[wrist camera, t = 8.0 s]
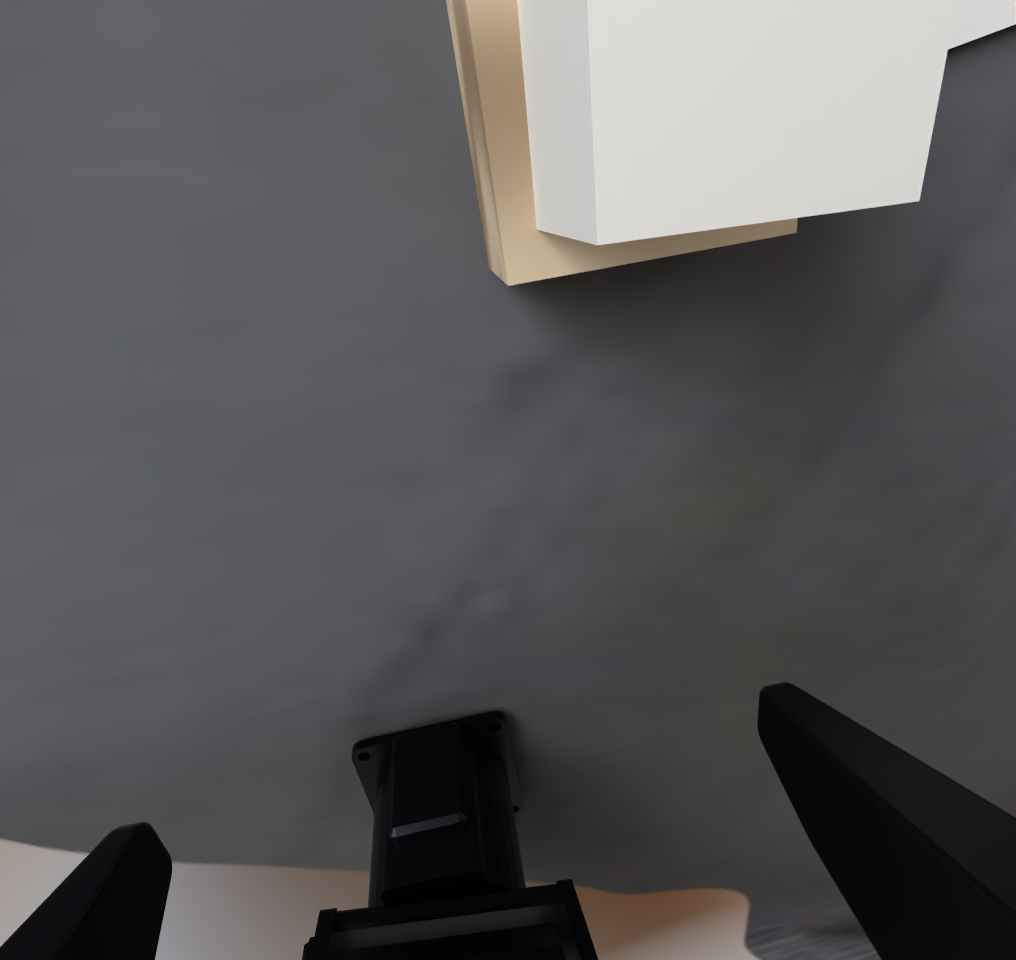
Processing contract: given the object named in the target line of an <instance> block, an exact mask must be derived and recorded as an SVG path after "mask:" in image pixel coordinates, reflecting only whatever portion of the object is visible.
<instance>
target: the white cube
mask: <svg viewBox="0 0 1016 960" xmlns="http://www.w3.org/2000/svg"><path fill="white" fill-rule="evenodd" d="M956 4H957V0H517V5H518V17H519V29H520V40H521V52H522V64H523V75H524V87H525V99H526V110H527V122H528V134H529V145H530V157H531V169H532V180H533V192H534V204H535V215H536V227H537V230H540V231H544V232H548V233H552V234H556V235H559V236H563V237H567V238H571V239H575V240H579V241H582V242H586V243H590V244H594V245H604V244H611V243H618V242H626V241H633V240H640V239H648V238H655V237H662V236H669V235H677V234H684V233H691V232H698V231H706V230H713V229H720V228H728V227H735V226H742V225H749V224H757V223H764V222H771V221H778V220H786V219H793V218H800V217H807V216H815V215H822V214H829V213H837V212H844V211H851V210H858V209H866V208H873V207H880V206H887V205H895V204H902V203H909V202H917V201H920V195H921V190H922V185H923V179H924V174H925V169H926V163H927V158H928V153H929V147H930V142H931V137H932V131H933V126H934V121H935V115H936V110H937V105H938V99H939V94H940V89H941V84H942V78H943V73H944V68H945V62H946V57H947V52H948V46H949V41H950V36H951V30H952V25H953V20H954V14H955V9H956Z"/></svg>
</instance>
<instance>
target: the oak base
mask: <svg viewBox="0 0 1016 960" xmlns="http://www.w3.org/2000/svg"><path fill="white" fill-rule="evenodd" d="M446 2H447V8H448V14H449V21H450V27H451V33H452V39H453V46H454V52H455V58H456V64H457V71H458V77H459V83H460V89H461V95H462V102H463V108H464V114H465V120H466V127H467V133H468V139H469V145H470V152H471V158H472V164H473V170H474V177H475V183H476V189H477V195H478V202H479V208H480V214H481V220H482V227H483V233H484V239H485V245H486V251H487V258H488V264H489V269H490V270H491V271H492V272H493V273H495V274H496V275H497V276H498V277H499V278H500V279H501V280H502V281H503V282H504V283H506V284H507V285H508V286H510V285H516V284H521V283H527V282H532V281H538V280H543V279H548V278H554V277H559V276H565V275H570V274H576V273H581V272H586V271H592V270H597V269H603V268H608V267H614V266H619V265H625V264H630V263H635V262H641V261H646V260H652V259H657V258H663V257H668V256H673V255H679V254H684V253H690V252H695V251H701V250H706V249H711V248H717V247H722V246H728V245H733V244H739V243H744V242H750V241H755V240H760V239H766V238H771V237H777V236H782V235H788V234H793V233H797V221H798V218H793V219H786V220H778V221H771V222H764V223H757V224H749V225H742V226H735V227H728V228H720V229H713V230H706V231H698V232H691V233H684V234H677V235H669V236H662V237H655V238H648V239H640V240H633V241H626V242H618V243H611V244H604V245H594V244H590V243H586V242H582V241H579V240H575V239H571V238H567V237H563V236H559V235H556V234H552V233H548V232H544V231H540V230H537V227H536V215H535V204H534V192H533V180H532V169H531V157H530V145H529V134H528V122H527V110H526V99H525V87H524V75H523V64H522V52H521V40H520V29H519V17H518V5H517V0H446Z"/></svg>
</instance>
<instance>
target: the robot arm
mask: <svg viewBox="0 0 1016 960" xmlns="http://www.w3.org/2000/svg"><path fill="white" fill-rule="evenodd" d="M493 723H496V724H493ZM757 724H758V732H759V736H760V739H761V741H762V743H763V746H764V748H765V750H766V752H767V754H768V756H769V758H770V760H771V762H772V764H773V766H774V768H775V770H776V772H777V774H778V776H779V778H780V781H781V783H782V785H783V787H784V789H785V791H786V793H787V795H788V797H789V799H790V801H791V803H792V805H793V807H794V809H795V811H796V813H797V816H798V818H799V820H800V822H801V824H802V826H803V828H804V830H805V832H806V834H807V836H808V838H809V840H810V842H811V843H812V845H813V847H814V849H815V851H816V852H817V854H818V856H819V857H820V859H821V861H822V863H823V864H824V866H825V868H826V869H827V871H828V873H829V874H830V876H831V877H832V879H833V881H834V882H835V884H836V886H837V887H838V889H839V891H840V892H841V894H842V896H843V897H844V899H845V900H846V902H847V904H848V905H849V907H850V909H851V910H852V912H853V914H854V915H855V917H856V919H857V920H858V922H859V924H860V925H861V927H862V928H863V930H864V932H865V933H866V935H867V937H868V938H869V940H870V942H871V943H872V945H873V947H874V948H875V950H876V952H877V953H878V955H879V956H880V958H881V960H1016V818H1015V817H1014V816H1012V815H1010V814H1009V813H1007V812H1005V811H1004V810H1002V809H1000V808H999V807H997V806H995V805H994V804H992V803H990V802H989V801H987V800H985V799H984V798H982V797H980V796H979V795H977V794H975V793H974V792H972V791H970V790H969V789H967V788H965V787H964V786H962V785H960V784H959V783H957V782H955V781H954V780H952V779H950V778H949V777H947V776H945V775H944V774H942V773H940V772H939V771H937V770H935V769H934V768H932V767H930V766H929V765H927V764H925V763H924V762H922V761H920V760H919V759H917V758H915V757H914V756H912V755H910V754H909V753H907V752H905V751H904V750H902V749H900V748H899V747H897V746H895V745H894V744H892V743H890V742H889V741H887V740H885V739H884V738H882V737H880V736H879V735H877V734H875V733H874V732H872V731H870V730H869V729H867V728H865V727H864V726H862V725H860V724H859V723H857V722H855V721H854V720H852V719H850V718H849V717H847V716H845V715H844V714H842V713H840V712H839V711H837V710H835V709H834V708H832V707H830V706H828V705H827V704H825V703H823V702H822V701H820V700H818V699H817V698H815V697H813V696H812V695H810V694H808V693H807V692H805V691H803V690H802V689H800V688H798V687H797V686H795V685H793V684H791V683H788V682H782V683H777V684H773V685H768V686H765V687H763V688H762V689H761V691H760V695H759V709H758V723H757ZM364 752H366V753H364ZM352 761H353V763H354V766H355V768H356V771H357V773H358V775H359V778H360V780H361V783H362V785H363V788H364V790H365V793H366V795H367V798H368V800H369V803H370V805H371V807H372V810H373V812H374V828H373V843H372V857H371V871H370V885H369V899H368V908H360V909H352V910H344V911H337V908H335V909H326V910H320V913H319V917H318V923H317V927H316V932H315V936H314V937H311V938H310V940H309V942H308V943H306V944H305V945H304V951H303V957H302V960H598V957H597V954H596V951H595V948H594V945H593V942H592V939H591V936H590V933H589V930H588V927H587V924H586V921H585V918H584V915H583V912H582V909H581V906H580V903H579V900H578V897H577V894H576V891H575V888H574V885H573V882H572V879H567V880H559V881H556V884H551V885H543V886H536V887H528V888H526V886H525V880H524V874H523V867H522V861H521V854H520V848H519V842H518V835H517V829H516V823H515V816H517V815H520V814H521V813H522V812H523V811H524V801H523V796H522V792H521V787H520V782H519V778H518V773H517V768H516V764H515V759H514V754H513V750H512V745H511V740H510V736H509V731H508V726H507V722H506V717H505V715H504V714H503V713H502V712H499V711H492V712H487V713H483V714H478V715H474V716H469V717H465V718H460V719H456V720H451V721H447V722H442V723H438V724H433V725H429V726H424V727H420V728H415V729H411V730H406V731H402V732H397V733H393V734H388V735H384V736H379V737H375V738H370V739H366V740H362V741H359V742H357V743H356V744H354V746H353V749H352ZM171 874H172V861H171V857H170V855H169V853H168V851H167V850H166V848H165V846H164V845H163V843H162V842H161V840H160V838H159V837H158V835H157V833H156V832H155V830H154V829H153V827H152V826H151V825H150V824H149V823H146V822H140V823H135V824H130V825H126V826H121V827H118V828H116V829H114V830H113V831H111V832H110V833H109V834H108V835H107V836H106V837H105V838H104V839H103V840H102V841H101V842H100V843H99V844H98V845H97V846H96V847H95V848H94V850H93V851H92V852H91V853H90V854H89V855H88V856H87V857H86V858H85V859H84V860H83V861H82V862H81V863H80V864H79V865H78V866H77V867H76V868H75V869H74V870H73V872H72V873H71V874H70V875H69V876H68V877H67V878H66V879H65V880H64V881H63V882H62V883H61V884H60V885H59V886H58V887H57V888H56V889H55V891H54V892H52V893H51V895H50V896H49V897H48V898H47V899H46V900H45V901H44V902H43V903H42V904H41V905H40V906H39V907H38V908H37V909H36V910H35V911H34V912H33V913H32V914H31V915H30V917H29V918H28V919H27V920H26V921H25V922H24V923H23V924H22V925H21V926H20V927H19V928H18V929H17V930H16V931H15V932H14V933H13V934H12V935H11V936H10V937H9V939H8V940H7V941H6V942H5V943H4V944H3V945H2V946H1V947H0V960H155V956H156V951H157V945H158V940H159V935H160V930H161V925H162V920H163V915H164V910H165V906H166V900H167V895H168V891H169V886H170V881H171Z"/></svg>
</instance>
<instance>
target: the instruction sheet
mask: <svg viewBox="0 0 1016 960" xmlns="http://www.w3.org/2000/svg"><path fill="white" fill-rule="evenodd" d="M1015 24H1016V0H957V4H956V9H955V14H954V20H953V25H952V30H951V36H950V41H949V46H948V49H951V48H954V47H956V46H959V45H962V44H964V43H967V42H970V41H972V40H975V39H978V38H980V37H983V36H986V35H988V34H991V33H994V32H996V31H999V30H1002V29H1004V28H1007V27H1010V26H1012V25H1015Z"/></svg>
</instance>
